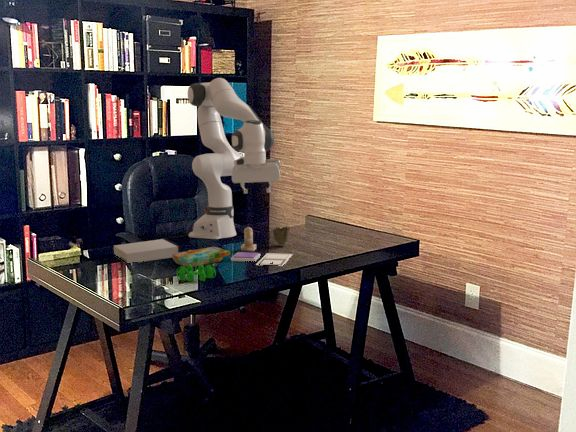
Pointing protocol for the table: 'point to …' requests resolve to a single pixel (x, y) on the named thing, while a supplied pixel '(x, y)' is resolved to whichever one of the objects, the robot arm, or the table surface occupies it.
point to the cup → (281, 235)
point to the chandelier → (191, 273)
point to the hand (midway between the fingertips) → (257, 193)
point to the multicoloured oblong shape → (200, 256)
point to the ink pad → (245, 256)
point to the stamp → (248, 241)
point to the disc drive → (146, 250)
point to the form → (274, 259)
